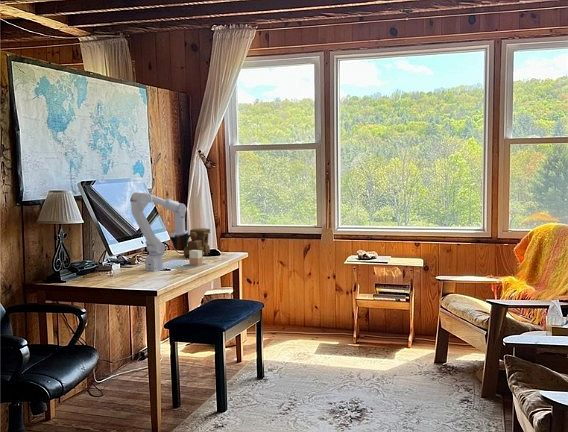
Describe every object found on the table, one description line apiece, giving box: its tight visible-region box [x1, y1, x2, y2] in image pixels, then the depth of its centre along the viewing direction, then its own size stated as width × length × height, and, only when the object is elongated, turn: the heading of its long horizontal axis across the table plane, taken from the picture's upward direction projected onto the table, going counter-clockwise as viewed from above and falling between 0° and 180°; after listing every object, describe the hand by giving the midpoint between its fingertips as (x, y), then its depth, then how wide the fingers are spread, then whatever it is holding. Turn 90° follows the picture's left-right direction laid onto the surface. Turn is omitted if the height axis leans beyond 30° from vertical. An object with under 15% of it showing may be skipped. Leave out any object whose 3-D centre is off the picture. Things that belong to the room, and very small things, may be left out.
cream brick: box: [188, 250, 203, 259], centre depth 329 cm, size 4×6×4 cm, turn 62°
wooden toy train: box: [183, 227, 211, 258], centre depth 362 cm, size 20×11×17 cm, turn 164°
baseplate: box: [170, 257, 208, 271], centre depth 325 cm, size 21×11×5 cm, turn 152°
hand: (180, 248), depth 326 cm, fingers open, 7 cm apart
